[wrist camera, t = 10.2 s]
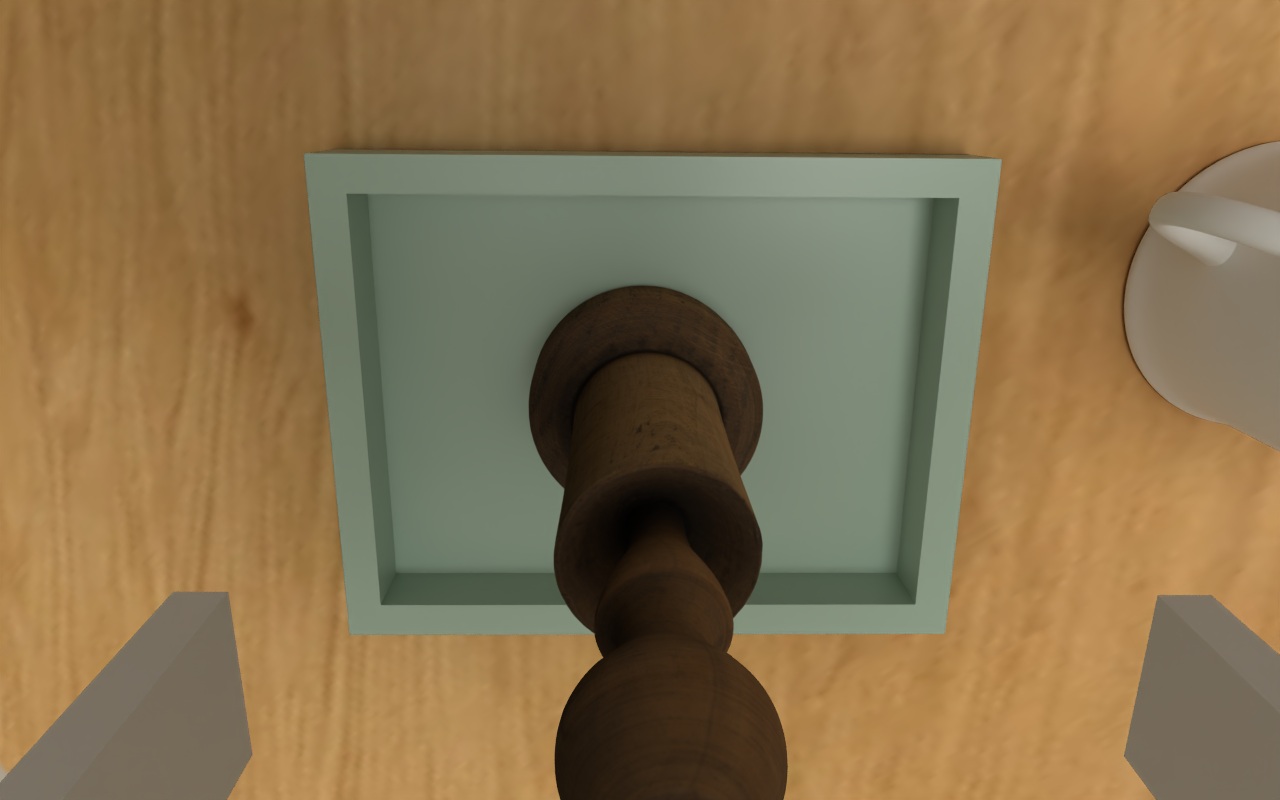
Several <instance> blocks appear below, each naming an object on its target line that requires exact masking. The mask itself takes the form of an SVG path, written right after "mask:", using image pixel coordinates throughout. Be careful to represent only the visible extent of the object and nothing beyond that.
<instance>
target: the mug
mask: <svg viewBox="0 0 1280 800" xmlns="http://www.w3.org/2000/svg"><path fill="white" fill-rule="evenodd" d="M1149 224H1150V226H1149V228H1148V229H1147V231H1146V233H1145V235H1144V236H1143V238H1142V240H1141V242H1140V244H1139V246H1138V249H1137V251H1136V253H1135V256H1134V258H1133V261H1132V264H1131V267H1130V271H1129V274H1128V279H1127V284H1126V290H1125V298H1124V321H1125V329H1126V335H1127V339H1128V343H1129V346H1130V350H1131V352H1132V355H1133V357H1134V360H1135V362H1136V364H1137V366H1138V367H1139V369H1140V371H1141V372H1142V374H1143V375H1144V377H1145V378H1146V380H1147V381H1148V382H1149V384H1150V385H1151V386H1152V387H1153V388H1154V389H1155V390H1156V391H1157V392H1158V393H1159V394H1160V395H1161V396H1162V397H1163V398H1165V399H1166V400H1167V401H1169V402H1170V403H1171V404H1173V405H1174V406H1176V407H1178V408H1179V409H1181V410H1183V411H1185V412H1187V413H1189V414H1191V415H1194V416H1196V417H1199V418H1202V419H1205V420H1208V421H1212V422H1216V423H1221V424H1227V425H1229V426H1231V427H1233V428H1235V429H1237V430H1239V431H1241V432H1243V433H1245V434H1247V435H1249V436H1251V437H1253V438H1255V439H1256V440H1258V441H1260V442H1262V443H1264V444H1266V445H1268V446H1270V447H1272V448H1274V449H1276V450H1278V451H1280V141H1277V142H1271V143H1266V144H1261V145H1257V146H1254V147H1251V148H1248V149H1245V150H1242V151H1239V152H1237V153H1235V154H1232V155H1230V156H1228V157H1226V158H1224V159H1222V160H1220V161H1218V162H1216V163H1215V164H1213V165H1211V166H1210V167H1208V168H1206V169H1205V170H1203V171H1202V172H1201V173H1199V174H1198V175H1196V176H1195V177H1194V178H1193V179H1191V180H1190V181H1189V182H1188V183H1186V184H1185V185H1184V186H1183V187H1182V188H1181V189H1180V190H1179V191H1178V192H1171V193H1168V194H1165V195H1163V196H1162V197H1161V198H1159V199H1158V200H1157V202H1156V203H1155V204H1154V206H1153V207H1152V209H1151V211H1150V214H1149Z"/></svg>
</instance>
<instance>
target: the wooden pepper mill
mask: <svg viewBox="0 0 1280 800" xmlns="http://www.w3.org/2000/svg"><path fill="white" fill-rule="evenodd" d="M529 422H530V429H531V433H532V437H533V441H534V444H535V446H536V449H537V452H538V454H539V456H540V458H541V460H542V462H543V463H544V465H545V467H546V468H547V470H548V471H549V472H550V474H551V475H552V476H553V478H554V479H555V480H556V481H557V482H558V483H559V484H560V485H561V486H562V487H563V488H564V495H563V501H562V507H561V512H560V518H559V523H558V529H557V534H556V540H555V547H554V572H555V578H556V582H557V586H558V588H559V591H560V593H561V596H562V598H563V599H564V601H565V603H566V605H567V607H568V608H569V609H570V611H571V612H572V614H573V615H574V616H575V617H576V618H577V619H578V620H579V621H580V622H581V623H582V624H583V625H584V626H585V627H586V628H587V629H589V630H590V631H591V632H593V633H594V634H595V639H596V642H597V645H598V648H599V650H600V652H601V654H602V656H603V657H604V658H602V659H601V660H600V661H598V662H597V663H596V664H595V665H594V666H593V667H592V668H591V669H590V670H589V671H588V672H587V673H586V674H585V676H584V677H583V678H582V679H581V680H580V682H579V683H578V685H577V686H576V688H575V689H574V691H573V692H572V694H571V696H570V697H569V699H568V701H567V703H566V706H565V708H564V710H563V713H562V716H561V720H560V723H559V727H558V731H557V737H556V744H555V775H556V783H557V788H558V792H559V796H560V799H561V800H783V799H784V795H785V790H786V783H787V769H788V766H787V750H786V742H785V737H784V733H783V729H782V725H781V722H780V719H779V716H778V714H777V711H776V709H775V707H774V705H773V703H772V701H771V699H770V697H769V696H768V694H767V692H766V691H765V689H764V688H763V686H762V685H761V684H760V683H759V681H758V680H757V679H756V678H755V677H754V676H753V675H752V674H751V672H750V671H748V670H747V669H746V668H745V667H744V666H743V665H742V664H741V663H739V662H738V661H737V660H736V659H734V658H733V657H732V656H731V655H729V654H728V653H727V651H728V649H729V647H730V644H731V640H732V636H733V630H734V622H733V618H734V617H735V616H736V615H737V614H738V613H739V612H740V611H741V609H742V608H743V607H744V605H745V604H746V602H747V601H748V599H749V597H750V596H751V594H752V592H753V590H754V588H755V585H756V583H757V580H758V576H759V573H760V569H761V564H762V550H763V542H762V535H761V531H760V527H759V525H758V522H757V520H756V517H755V514H754V511H753V508H752V506H751V503H750V500H749V498H748V495H747V492H746V489H745V487H744V484H743V481H742V479H741V475H742V473H743V472H744V471H745V469H746V468H747V466H748V464H749V463H750V461H751V459H752V457H753V455H754V453H755V450H756V448H757V445H758V442H759V438H760V434H761V429H762V422H763V399H762V392H761V388H760V383H759V380H758V377H757V374H756V371H755V369H754V366H753V364H752V362H751V360H750V357H749V355H748V353H747V351H746V349H745V347H744V345H743V344H742V342H741V340H740V339H739V337H738V336H737V335H736V333H735V332H734V330H733V329H732V328H731V327H730V326H729V325H728V324H727V322H726V321H725V320H724V319H722V318H721V317H720V316H719V315H718V314H717V313H716V312H715V311H714V310H712V309H711V308H710V307H708V306H707V305H705V304H704V303H702V302H701V301H699V300H697V299H695V298H693V297H691V296H689V295H686V294H684V293H682V292H679V291H676V290H672V289H668V288H664V287H657V286H627V287H622V288H617V289H613V290H610V291H606V292H603V293H601V294H599V295H596V296H594V297H592V298H590V299H588V300H586V301H584V302H583V303H581V304H580V305H578V306H577V307H576V308H574V309H573V310H572V311H570V312H569V313H568V314H567V315H566V316H565V317H564V318H563V319H562V320H561V321H560V322H559V323H558V324H557V326H556V327H555V328H554V329H553V331H552V332H551V333H550V335H549V337H548V338H547V340H546V342H545V343H544V345H543V347H542V349H541V352H540V354H539V357H538V360H537V363H536V366H535V370H534V374H533V377H532V381H531V386H530V392H529Z"/></svg>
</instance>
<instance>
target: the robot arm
mask: <svg viewBox="0 0 1280 800" xmlns="http://www.w3.org/2000/svg"><path fill="white" fill-rule="evenodd" d="M251 756H252V749H251V742H250V735H249V729H248V722H247V715H246V709H245V702H244V695H243V688H242V682H241V675H240V668H239V662H238V655H237V648H236V641H235V635H234V628H233V621H232V615H231V608H230V601H229V594H228V592H173V593H172V594H171V595H170V596H169V597H168V598H167V599H166V600H165V602H164V603H163V604H162V605H161V606H160V607H159V608H158V609H157V610H156V611H155V613H154V614H153V615H152V616H151V617H150V618H149V619H148V620H147V621H146V622H145V624H144V625H143V626H142V627H141V628H140V629H139V630H138V631H137V632H136V633H135V635H134V636H133V637H132V638H131V639H130V640H129V641H128V642H127V643H126V644H125V646H124V647H123V648H122V649H121V650H120V651H119V652H118V653H117V654H116V656H115V657H114V658H113V659H112V660H111V661H110V662H109V663H108V664H107V665H106V667H105V668H104V669H103V670H102V671H101V672H100V673H99V674H98V675H97V676H96V678H95V679H94V680H93V681H92V682H91V683H90V684H89V685H88V686H87V687H86V689H85V690H84V691H83V692H82V693H81V694H80V695H79V696H78V697H77V698H76V700H75V701H74V702H73V703H72V704H71V705H70V706H69V707H68V708H67V709H66V711H65V712H64V713H63V714H62V715H61V716H60V717H59V718H58V719H57V720H56V722H55V723H54V724H53V725H52V726H51V727H50V728H49V729H48V730H47V731H46V733H45V734H44V735H43V736H42V737H41V738H40V739H39V740H38V741H37V743H36V744H35V745H34V746H33V747H32V748H31V749H30V750H29V751H28V752H27V754H26V755H25V756H24V757H23V758H22V759H21V760H20V761H19V762H18V763H17V765H16V766H15V767H14V768H13V769H12V770H11V771H10V772H9V773H8V774H7V776H6V777H5V778H4V779H3V780H2V781H1V782H0V800H227V798H228V797H229V795H230V793H231V791H232V790H233V788H234V786H235V784H236V782H237V781H238V779H239V777H240V775H241V774H242V772H243V770H244V768H245V767H246V765H247V763H248V761H249V760H250V758H251ZM1124 757H1125V758H1126V759H1127V761H1128V762H1129V763H1130V765H1131V766H1132V767H1133V769H1134V770H1135V772H1136V773H1137V774H1138V776H1139V777H1140V778H1141V780H1142V781H1143V782H1144V784H1145V785H1146V786H1147V788H1148V789H1149V791H1150V792H1151V793H1152V795H1153V796H1154V797H1155V799H1156V800H1280V655H1279V654H1278V653H1277V652H1275V651H1274V650H1273V649H1272V648H1271V647H1270V646H1269V645H1267V644H1266V643H1265V642H1264V641H1263V640H1262V639H1261V638H1259V637H1258V636H1257V635H1256V634H1255V633H1254V632H1253V631H1251V630H1250V629H1249V628H1248V627H1247V626H1246V625H1245V624H1243V623H1242V622H1241V621H1240V620H1239V619H1238V618H1237V617H1235V616H1234V615H1233V614H1232V613H1231V612H1230V611H1229V610H1227V609H1226V608H1225V607H1224V606H1223V605H1222V604H1221V603H1219V602H1218V601H1217V600H1216V599H1215V598H1214V597H1213V596H1212V595H1158V597H1157V601H1156V606H1155V611H1154V616H1153V620H1152V625H1151V630H1150V635H1149V639H1148V644H1147V649H1146V654H1145V658H1144V663H1143V668H1142V673H1141V678H1140V682H1139V687H1138V692H1137V697H1136V701H1135V706H1134V711H1133V716H1132V720H1131V725H1130V730H1129V735H1128V740H1127V744H1126V749H1125V754H1124Z"/></svg>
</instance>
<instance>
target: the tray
mask: <svg viewBox="0 0 1280 800" xmlns="http://www.w3.org/2000/svg"><path fill="white" fill-rule="evenodd" d="M304 162H305V173H306V183H307V194H308V204H309V215H310V225H311V236H312V246H313V256H314V267H315V277H316V288H317V298H318V309H319V319H320V330H321V340H322V351H323V361H324V372H325V382H326V392H327V403H328V413H329V424H330V434H331V445H332V455H333V466H334V476H335V487H336V497H337V508H338V518H339V529H340V539H341V549H342V560H343V570H344V581H345V591H346V602H347V612H348V623H349V633H350V635H562V634H594V633H593V632H591V631H590V630H589V629H587V628H586V627H585V626H584V625H583V624H582V623H581V622H580V621H579V620H578V619H577V618H576V617H575V616H574V615H573V614H572V612H571V611H570V609H569V608H568V607H567V605H566V603H565V601H564V599H563V598H562V596H561V593H560V591H559V588H558V586H557V582H556V578H555V572H554V547H555V540H556V534H557V529H558V523H559V518H560V512H561V507H562V501H563V495H564V488H563V487H562V486H561V485H560V484H559V483H558V482H557V481H556V480H555V479H554V478H553V476H552V475H551V474H550V472H549V471H548V470H547V468H546V467H545V465H544V463H543V462H542V460H541V458H540V456H539V454H538V452H537V449H536V446H535V444H534V441H533V437H532V433H531V429H530V422H529V392H530V386H531V381H532V377H533V374H534V370H535V366H536V363H537V360H538V357H539V354H540V352H541V349H542V347H543V345H544V343H545V342H546V340H547V338H548V337H549V335H550V333H551V332H552V331H553V329H554V328H555V327H556V326H557V324H558V323H559V322H560V321H561V320H562V319H563V318H564V317H565V316H566V315H567V314H568V313H569V312H570V311H572V310H573V309H574V308H576V307H577V306H578V305H580V304H581V303H583V302H584V301H586V300H588V299H590V298H592V297H594V296H596V295H599V294H601V293H603V292H606V291H610V290H613V289H617V288H622V287H627V286H657V287H664V288H668V289H672V290H676V291H679V292H682V293H684V294H686V295H689V296H691V297H693V298H695V299H697V300H699V301H701V302H702V303H704V304H705V305H707V306H708V307H710V308H711V309H712V310H714V311H715V312H716V313H717V314H718V315H719V316H720V317H721V318H722V319H724V320H725V321H726V322H727V324H728V325H729V326H730V327H731V328H732V329H733V330H734V332H735V333H736V335H737V336H738V337H739V339H740V340H741V342H742V344H743V345H744V347H745V349H746V351H747V353H748V355H749V357H750V360H751V362H752V364H753V366H754V369H755V371H756V374H757V377H758V380H759V383H760V388H761V392H762V399H763V422H762V429H761V434H760V438H759V442H758V445H757V448H756V450H755V453H754V455H753V457H752V459H751V461H750V463H749V464H748V466H747V468H746V469H745V471H744V472H743V473H742V475H741V479H742V481H743V484H744V487H745V489H746V492H747V495H748V498H749V500H750V503H751V506H752V508H753V511H754V514H755V517H756V520H757V522H758V525H759V527H760V531H761V535H762V542H763V550H762V564H761V569H760V573H759V576H758V580H757V583H756V585H755V588H754V590H753V592H752V594H751V596H750V597H749V599H748V601H747V602H746V604H745V605H744V607H743V608H742V609H741V611H740V612H739V613H738V614H737V615H736V616H735V617H734V618H733V622H734V630H733V634H945V629H946V620H947V612H948V604H949V595H950V587H951V579H952V570H953V562H954V554H955V545H956V537H957V529H958V520H959V512H960V504H961V496H962V487H963V479H964V471H965V462H966V454H967V446H968V437H969V429H970V421H971V412H972V404H973V396H974V387H975V379H976V371H977V362H978V354H979V346H980V337H981V329H982V321H983V312H984V304H985V296H986V287H987V279H988V271H989V262H990V254H991V246H992V238H993V229H994V221H995V213H996V204H997V196H998V188H999V179H1000V171H1001V163H1002V159H998V158H991V157H983V156H976V155H968V154H865V153H740V152H616V151H491V150H367V149H332V150H325V151H318V152H310V153H304Z"/></svg>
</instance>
